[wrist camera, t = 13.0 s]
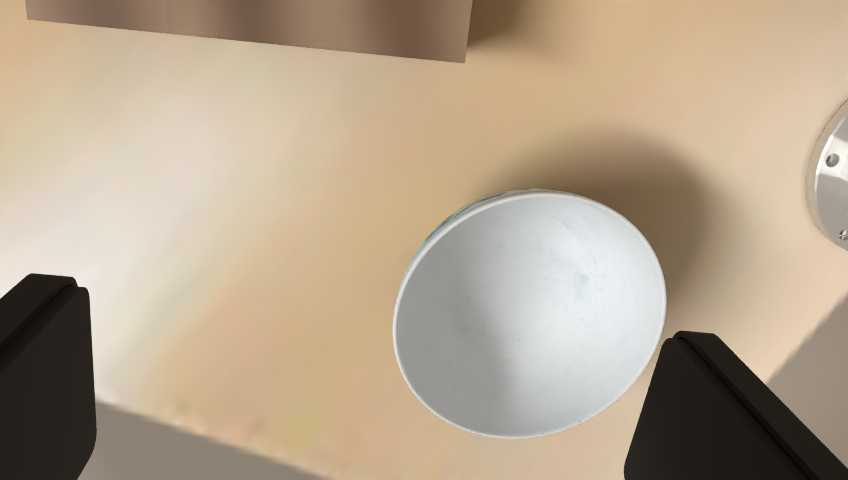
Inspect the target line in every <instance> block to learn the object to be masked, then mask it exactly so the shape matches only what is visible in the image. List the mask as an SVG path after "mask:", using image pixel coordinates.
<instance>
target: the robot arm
mask: <svg viewBox="0 0 848 480" xmlns="http://www.w3.org/2000/svg"><path fill="white" fill-rule="evenodd" d="M806 198H807V203H808V208H809V212H810V214H811V216H812V219H813V221H814V223H815V225H816V226H817V228H818V229H819V230H820V231H821V233H822V234H823V235H824V236H825V237H826V238H828V239H829V240H830V241H832V242H833V243H834V244H836V245H838V246H839V247H841V248H843V249H845V250H847V251H848V101H846V102H845V103H844V104H843V105H842V106H841V107H840V108H839V110H838V111H837V112H836V114H835V115H834V116H833V117H832V119H831V120H830V121H829V122H828V124H827V125H826V127H825V129H824V131H823V132H822V134H821V136H820V138H819V139H818V141H817V143H816V146H815V148H814V151H813V154H812V156H811V159H810V162H809V167H808V172H807V177H806ZM96 431H97V429H96V411H95V392H94V373H93V355H92V336H91V318H90V299H89V293H88V290H87V289H86V288H85V287H78V285H77V283H76V280H75V279H74V278H73V277H67V276H56V275H45V274H33V273H31V274H29V275H27V276H26V277H25V278H24V279H23V280H21V281H20V282H19V283H18V284H17V285H16V286H14V287H13V288H12V289H11V290H10V291H9V292H8V293H6V294H5V295H4V296H3V297H2V298H1V299H0V480H77V479H78V477H79V475H80V474H81V472H82V470H83V469H84V467H85V465H86V464H87V462H88V460H89V458H90V456H91V454H92V452H93V449H94V446H95V441H96ZM624 478H625V480H848V469H847V468H846V467H845V466H844V464H842V463H841V461H840V460H838V458H837V457H836V456H835V455H834V454H833V453H832V452H831V451H830V450H829V449H828V448H827V447H826V446H825V445H824V444H823V443H822V442H821V441H820V440H819V439H818V438H817V437H816V436H815V435H814V434H813V433H812V432H811V431H810V430H809V429H808V428H807V427H806V426H805V425H804V424H803V423H802V422H801V421H800V420H799V419H798V418H797V417H796V416H795V415H794V414H793V413H792V412H791V411H790V410H789V408H788V407H787V406H786V405H785V404H784V403H783V402H781V400H780V399H779V398H778V397H777V396H776V395H775V394H774V393H773V392H772V391H771V390H770V389H769V388H768V387H767V386H766V385H765V384H764V383H763V382H762V381H761V380H760V379H759V378H758V377H757V376H756V375H755V374H754V373H753V372H752V371H751V370H750V369H749V368H748V367H747V366H746V365H745V364H744V363H743V362H742V361H741V360H740V359H739V358H738V357H737V356H736V355H735V353H734V352H733V351H732V350H731V349H730V348H729V347H728V346H727V345H726V344H725V343H724V342H723V341H722V340H721V339H720V338H719V337H718V336H716V335H715V334H712V333H701V332H690V331H679V332H677V333H676V334H675V335H674V336H673V338H668V339H666V340H665V342H664V343H663V345H662V348H661V351H660V354H659V357H658V360H657V363H656V367H655V370H654V373H653V376H652V379H651V382H650V385H649V389H648V392H647V395H646V398H645V401H644V404H643V407H642V411H641V414H640V417H639V420H638V423H637V426H636V429H635V433H634V436H633V439H632V442H631V445H630V448H629V451H628V455H627V458H626V461H625V465H624Z"/></svg>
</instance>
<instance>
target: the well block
mask: <svg viewBox="0 0 848 480" xmlns="http://www.w3.org/2000/svg"><path fill="white" fill-rule="evenodd" d="M25 2H26V11H27V19H28V20H38V21H48V22H58V23H68V24H78V25H88V26H98V27H108V28H118V29H128V30H138V31H148V32H158V33H168V34H178V35H188V36H198V37H208V38H218V39H228V40H238V41H248V42H258V43H268V44H278V45H288V46H297V47H307V48H317V49H327V50H337V51H347V52H357V53H367V54H377V55H387V56H397V57H407V58H417V59H427V60H437V61H447V62H457V63H465V57H466V49H467V41H468V33H469V25H470V17H471V10H472V2H473V0H25Z"/></svg>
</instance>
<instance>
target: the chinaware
mask: <svg viewBox="0 0 848 480" xmlns="http://www.w3.org/2000/svg"><path fill="white" fill-rule="evenodd" d="M666 307H667V295H666V285H665V280H664V275H663V271H662V268H661V265H660V263H659V260H658V258H657V256H656V254H655V252H654V250H653V248H652V247H651V245H650V244H649V242H648V241H647V239H646V238H645V237H644V235H643V234H642V233H641V232H640V231H639V230H638V229H637V228H636V227H635V226H634V225H633V224H632V223H631V222H630V221H629V220H628V219H626V218H625V217H624V216H622V215H621V214H619V213H618V212H616V211H615V210H613V209H611V208H610V207H608V206H606V205H604V204H602V203H600V202H597V201H595V200H592V199H590V198H587V197H584V196H581V195H578V194H574V193H570V192H565V191H560V190H553V189H540V188H529V189H517V190H510V191H505V192H500V193H496V194H493V195H490V196H487V197H484V198H482V199H479V200H477V201H475V202H472V203H470V204H468V205H467V206H465V207H463V208H461V209H460V210H458V211H457V212H455V213H454V214H452V215H451V216H450V217H448V218H447V219H446V220H445V221H443V222H442V223H441V224H440V225H439V226H438V227H437V228H436V229H435V230H434V231H433V232H432V233H431V234H430V235H429V236H428V237H427V239H426V240H425V241H424V242H423V244H422V245H421V246H420V248H419V249H418V251H417V252H416V254H415V255H414V257H413V259H412V261H411V262H410V264H409V266H408V268H407V271H406V273H405V275H404V278H403V280H402V283H401V286H400V289H399V292H398V296H397V300H396V304H395V309H394V317H393V342H394V349H395V354H396V358H397V361H398V364H399V367H400V370H401V372H402V374H403V376H404V378H405V380H406V382H407V384H408V385H409V387H410V389H411V390H412V391H413V393H414V394H415V395H416V397H417V398H418V399H419V400H420V401H421V402H422V403H423V404H424V405H425V406H426V407H427V408H428V409H429V410H430V411H432V412H433V413H434V414H436V415H437V416H438V417H440V418H441V419H443V420H444V421H446V422H448V423H450V424H452V425H454V426H456V427H458V428H460V429H463V430H465V431H468V432H471V433H475V434H478V435H483V436H488V437H494V438H504V439H522V438H533V437H539V436H545V435H549V434H553V433H557V432H560V431H563V430H566V429H569V428H571V427H574V426H576V425H579V424H581V423H583V422H585V421H587V420H589V419H591V418H592V417H594V416H596V415H597V414H599V413H601V412H602V411H604V410H605V409H606V408H608V407H609V406H611V405H612V404H613V403H614V402H616V401H617V400H618V399H619V398H620V397H621V396H622V395H624V394H625V393H626V392H627V391H628V390H629V389H630V387H631V386H632V385H633V384H634V383H635V382H636V381H637V379H638V378H639V377H640V375H641V374H642V373H643V371H644V370H645V368H646V367H647V365H648V364H649V362H650V360H651V358H652V356H653V355H654V352H655V350H656V348H657V346H658V343H659V341H660V338H661V335H662V331H663V327H664V323H665V317H666Z"/></svg>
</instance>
